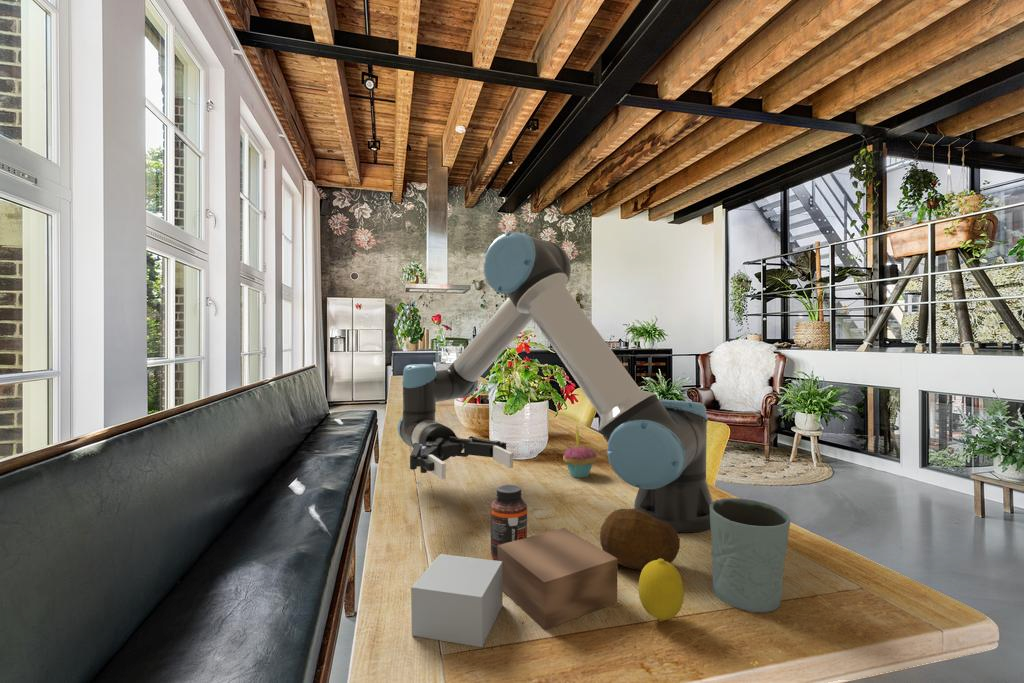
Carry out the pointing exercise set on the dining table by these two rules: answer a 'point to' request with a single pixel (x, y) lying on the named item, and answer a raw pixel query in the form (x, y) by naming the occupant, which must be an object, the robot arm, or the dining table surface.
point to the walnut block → (557, 576)
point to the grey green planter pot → (748, 553)
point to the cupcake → (579, 459)
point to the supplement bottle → (507, 517)
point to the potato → (638, 538)
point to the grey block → (457, 599)
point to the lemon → (661, 589)
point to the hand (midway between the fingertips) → (478, 465)
